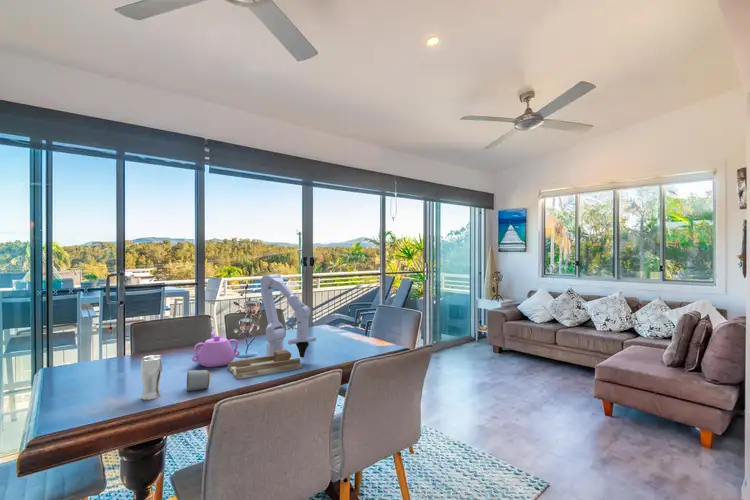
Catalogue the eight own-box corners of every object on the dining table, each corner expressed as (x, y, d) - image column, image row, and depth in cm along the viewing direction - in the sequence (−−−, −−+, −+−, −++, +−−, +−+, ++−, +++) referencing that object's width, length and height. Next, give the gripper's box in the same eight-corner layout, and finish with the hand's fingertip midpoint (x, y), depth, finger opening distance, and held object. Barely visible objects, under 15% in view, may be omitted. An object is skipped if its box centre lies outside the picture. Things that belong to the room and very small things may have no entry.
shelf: (228, 368, 180) (228, 360, 180) (288, 359, 196) (288, 351, 196) (237, 379, 166) (237, 370, 166) (301, 368, 182) (301, 360, 182)
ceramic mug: (209, 390, 152) (210, 371, 152) (187, 393, 148) (187, 374, 148) (206, 382, 161) (207, 364, 161) (185, 385, 157) (185, 367, 157)
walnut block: (273, 361, 186) (273, 351, 186) (285, 359, 190) (285, 349, 190) (277, 364, 181) (277, 353, 181) (289, 362, 185) (289, 352, 185)
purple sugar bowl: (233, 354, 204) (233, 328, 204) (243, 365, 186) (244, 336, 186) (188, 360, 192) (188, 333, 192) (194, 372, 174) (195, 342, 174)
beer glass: (146, 393, 147) (146, 355, 147) (164, 393, 148) (165, 355, 148) (136, 400, 140) (137, 360, 140) (156, 400, 141) (156, 360, 141)
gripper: (291, 333, 184) (291, 361, 184) (318, 330, 192) (318, 356, 192) (286, 330, 190) (285, 357, 190) (312, 327, 198) (312, 353, 198)
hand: (301, 356), depth 192 cm, fingers closed
